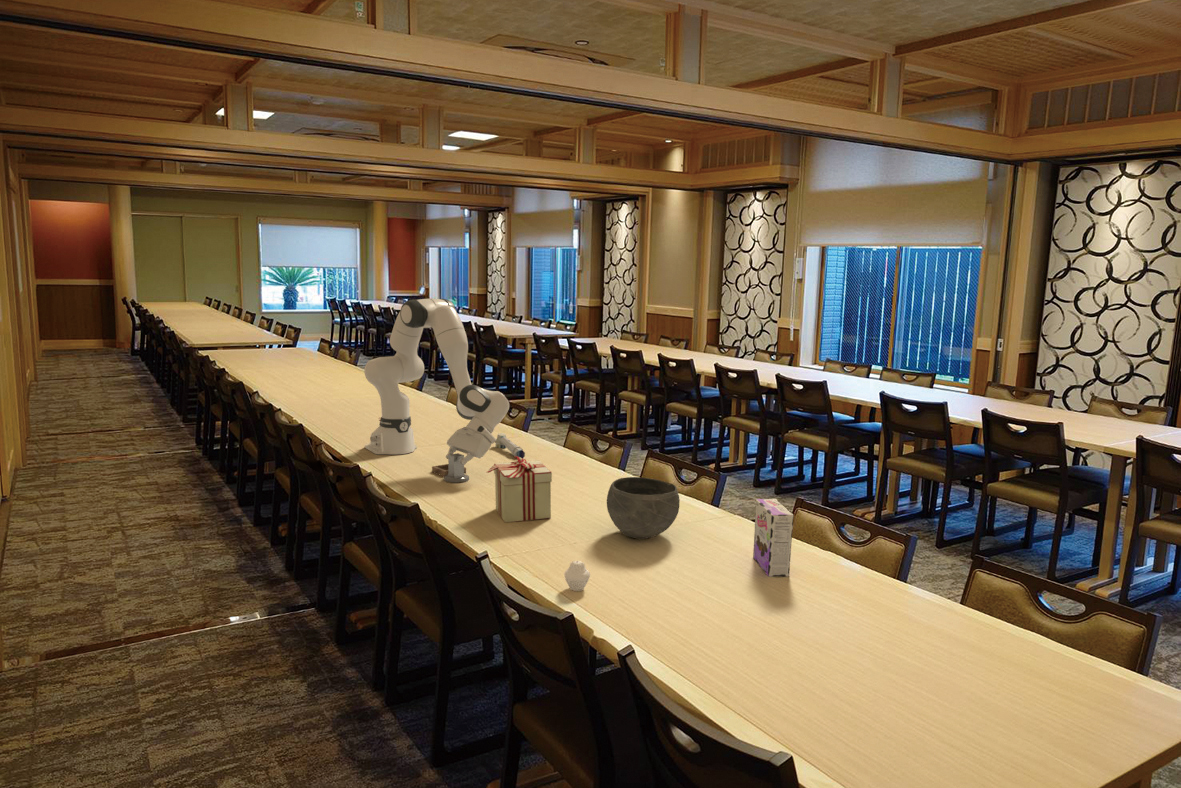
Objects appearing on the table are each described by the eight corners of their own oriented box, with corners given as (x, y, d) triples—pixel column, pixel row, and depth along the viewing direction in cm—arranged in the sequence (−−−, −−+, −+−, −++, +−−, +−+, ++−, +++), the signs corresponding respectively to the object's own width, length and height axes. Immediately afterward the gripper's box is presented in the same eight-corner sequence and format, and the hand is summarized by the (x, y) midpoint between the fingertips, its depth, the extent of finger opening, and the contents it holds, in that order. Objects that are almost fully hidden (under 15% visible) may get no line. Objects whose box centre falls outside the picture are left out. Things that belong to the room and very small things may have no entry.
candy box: (752, 557, 214) (755, 498, 212) (773, 557, 215) (777, 498, 212) (767, 577, 201) (771, 514, 198) (790, 577, 201) (794, 513, 199)
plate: (438, 479, 286) (438, 476, 285) (459, 475, 292) (459, 472, 292) (453, 484, 279) (453, 481, 279) (474, 480, 286) (474, 477, 286)
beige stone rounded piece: (559, 591, 189) (560, 563, 188) (569, 582, 195) (570, 554, 194) (584, 595, 187) (584, 567, 186) (593, 586, 193) (594, 558, 192)
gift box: (482, 510, 251) (482, 456, 248) (537, 504, 258) (538, 452, 256) (498, 526, 236) (498, 469, 233) (556, 520, 243) (557, 464, 240)
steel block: (448, 476, 286) (448, 454, 285) (458, 474, 288) (458, 453, 287) (454, 478, 283) (454, 456, 282) (464, 477, 285) (463, 455, 284)
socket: (432, 471, 296) (432, 466, 296) (453, 468, 302) (453, 463, 301) (444, 476, 289) (444, 471, 289) (466, 473, 295) (466, 467, 295)
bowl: (657, 553, 216) (659, 499, 214) (591, 537, 227) (592, 486, 225) (690, 532, 234) (692, 482, 231) (627, 519, 245) (629, 471, 242)
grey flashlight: (514, 450, 317) (493, 430, 338) (513, 466, 319) (492, 444, 340) (527, 449, 319) (505, 429, 340) (526, 464, 321) (504, 443, 342)
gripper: (457, 421, 295) (434, 450, 290) (488, 430, 280) (464, 461, 275) (467, 431, 299) (445, 460, 294) (498, 441, 283) (475, 472, 278)
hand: (454, 461), depth 284 cm, fingers open, 8 cm apart
